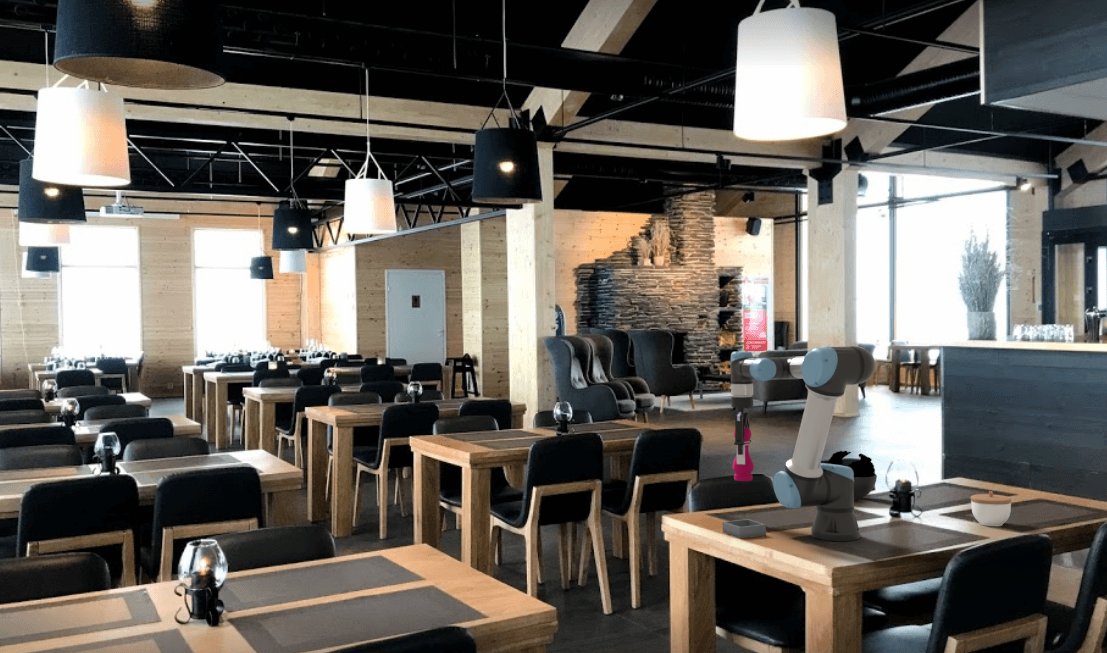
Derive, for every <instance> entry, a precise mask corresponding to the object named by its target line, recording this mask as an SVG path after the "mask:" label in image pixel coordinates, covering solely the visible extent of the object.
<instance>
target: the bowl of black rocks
mask: <svg viewBox="0 0 1107 653" xmlns="http://www.w3.org/2000/svg"><path fill="white" fill-rule="evenodd" d="M850 454H852V452H851V451H847V450H840V451H835V452H833V454H832V455H831V457H830V458H829V460H828V462H827V463H826V464H835V465H842V466H845V465H844V463H843V459H844V458H845V457H847V456H848V455H850ZM858 457H859V458H860V459H859V460H856V461H852V462H851V463H850V464H848V465H846V466H847V467H850V468H851V469H852V470H853V475H854V501H857V500H858V501H859V500H861V499H862V498H865V497H867V496H868V495H869V494H870V493H871V492H872V491H873V489H874V488H875V485H876V482H877V478H878V476H877V474H876V469H875V465H874V463H873V462H872V461H873V460H872V458H871V457H869V456H867V455H865V454H863V453H859V454H858Z"/></svg>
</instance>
